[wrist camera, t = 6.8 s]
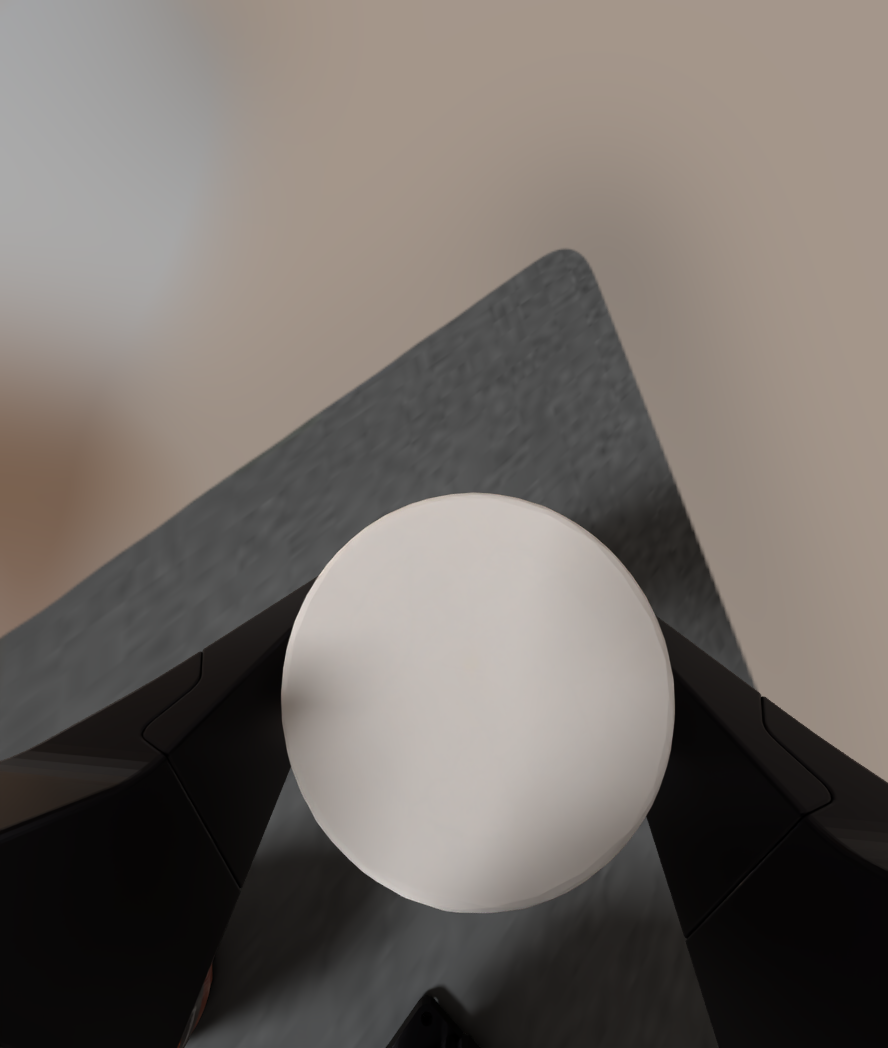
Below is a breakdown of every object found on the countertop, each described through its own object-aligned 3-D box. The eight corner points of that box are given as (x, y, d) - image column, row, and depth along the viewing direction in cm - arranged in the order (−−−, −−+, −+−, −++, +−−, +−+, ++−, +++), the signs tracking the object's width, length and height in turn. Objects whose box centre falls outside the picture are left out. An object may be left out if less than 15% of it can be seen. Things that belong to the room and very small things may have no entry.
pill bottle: (538, 571, 16) (708, 439, 5) (542, 734, 14) (809, 1049, 3) (393, 566, 16) (264, 432, 5) (381, 726, 15) (159, 994, 4)
